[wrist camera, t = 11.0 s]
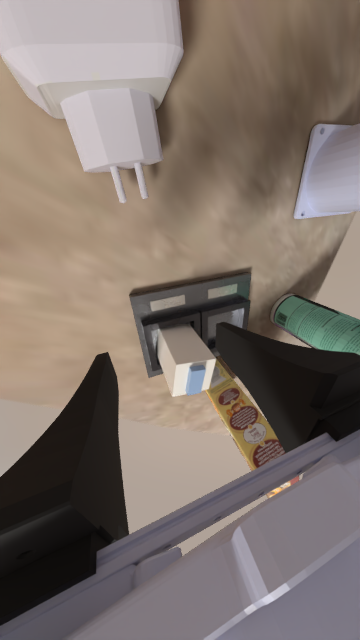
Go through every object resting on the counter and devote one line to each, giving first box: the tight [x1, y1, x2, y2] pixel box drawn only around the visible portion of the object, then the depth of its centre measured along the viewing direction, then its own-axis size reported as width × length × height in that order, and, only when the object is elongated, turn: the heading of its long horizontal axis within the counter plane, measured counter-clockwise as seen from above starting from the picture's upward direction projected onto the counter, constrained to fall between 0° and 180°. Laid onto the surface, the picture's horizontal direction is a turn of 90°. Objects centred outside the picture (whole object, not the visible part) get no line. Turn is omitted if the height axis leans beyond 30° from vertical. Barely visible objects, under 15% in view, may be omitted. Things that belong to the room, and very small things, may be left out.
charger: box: [0, 0, 184, 203], centre depth 10 cm, size 5×9×15 cm
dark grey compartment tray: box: [129, 272, 251, 378], centre depth 23 cm, size 15×12×2 cm
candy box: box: [205, 357, 299, 498], centre depth 24 cm, size 9×4×15 cm, turn 23°
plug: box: [156, 324, 216, 397], centre depth 20 cm, size 4×4×8 cm
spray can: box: [270, 293, 360, 355], centre depth 20 cm, size 6×6×20 cm
